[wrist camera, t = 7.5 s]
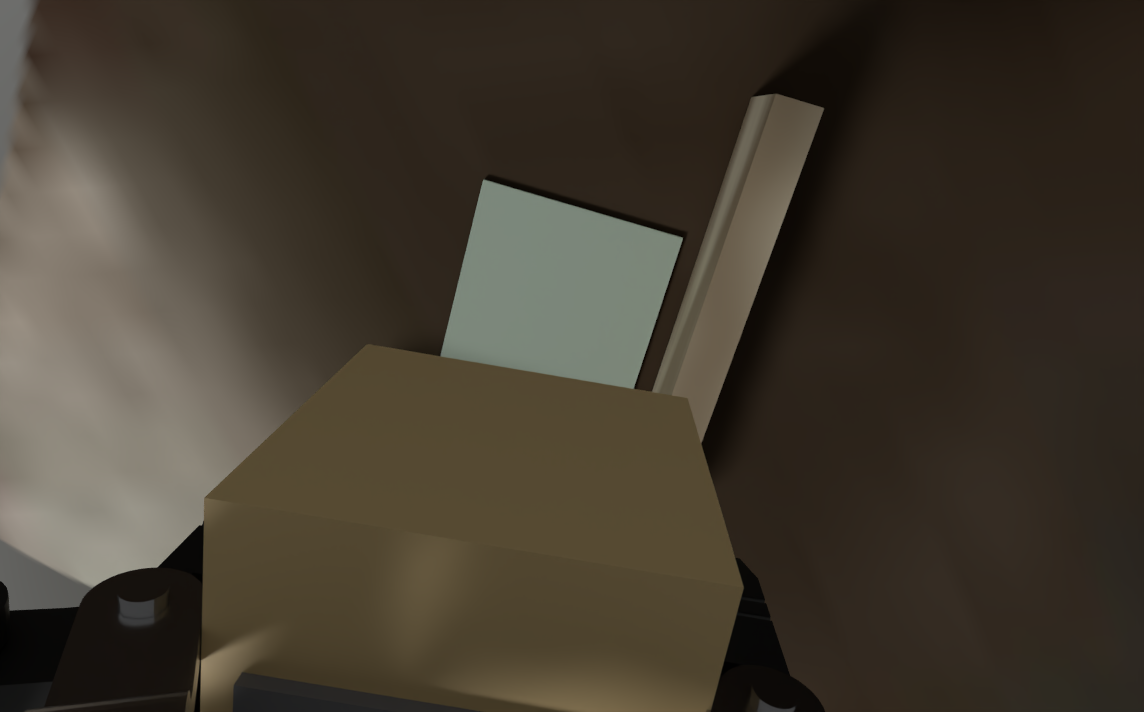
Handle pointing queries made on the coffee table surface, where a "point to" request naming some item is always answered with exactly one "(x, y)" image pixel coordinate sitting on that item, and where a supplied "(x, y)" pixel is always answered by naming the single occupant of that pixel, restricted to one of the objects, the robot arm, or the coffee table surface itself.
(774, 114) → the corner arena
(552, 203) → the pad
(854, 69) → the coffee table surface
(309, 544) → the ochre cube
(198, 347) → the coffee table surface
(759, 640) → the robot arm
